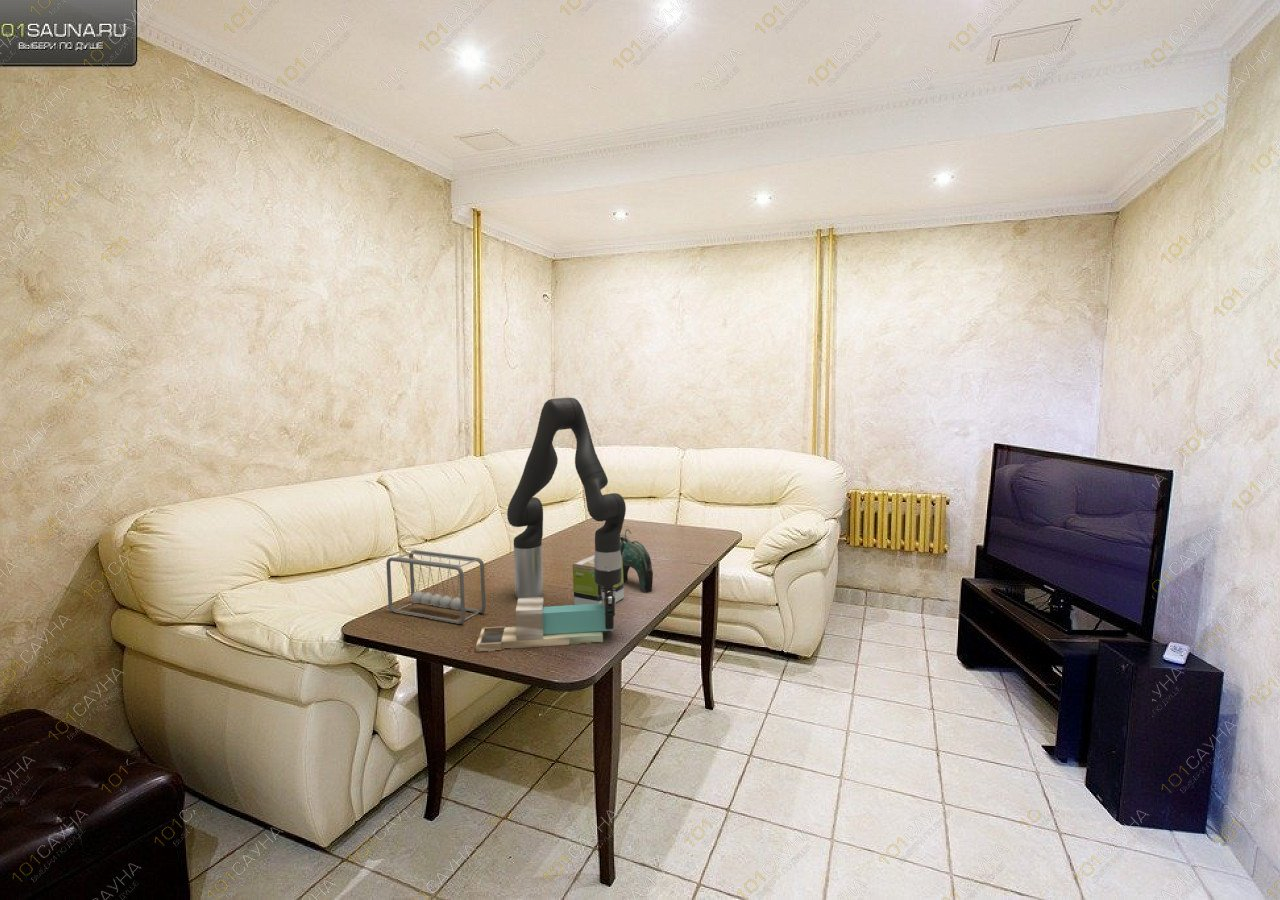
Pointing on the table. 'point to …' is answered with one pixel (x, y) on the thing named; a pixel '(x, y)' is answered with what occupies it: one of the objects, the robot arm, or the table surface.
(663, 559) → the table surface
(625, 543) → the ceramic cat
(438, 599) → the newton's cradle
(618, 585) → the tea box
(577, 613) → the teal block
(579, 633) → the tunnel track
